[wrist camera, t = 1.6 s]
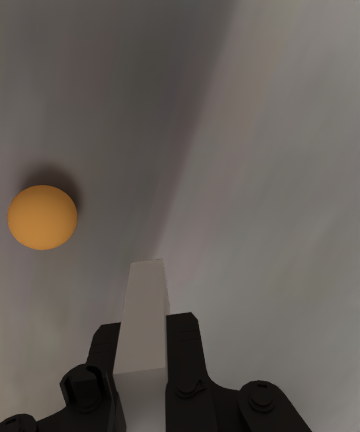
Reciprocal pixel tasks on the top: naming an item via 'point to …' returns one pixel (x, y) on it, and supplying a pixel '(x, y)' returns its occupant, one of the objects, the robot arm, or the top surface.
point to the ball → (42, 217)
